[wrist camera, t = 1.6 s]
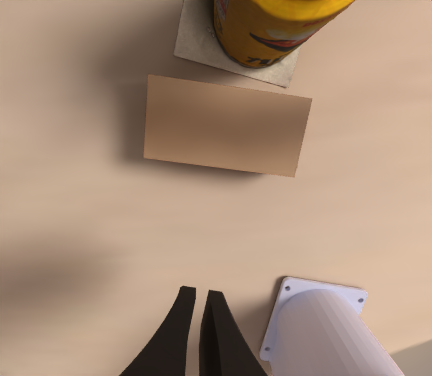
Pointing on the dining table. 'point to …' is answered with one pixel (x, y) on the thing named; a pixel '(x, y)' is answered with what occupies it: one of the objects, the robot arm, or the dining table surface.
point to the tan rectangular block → (224, 126)
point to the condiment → (252, 34)
